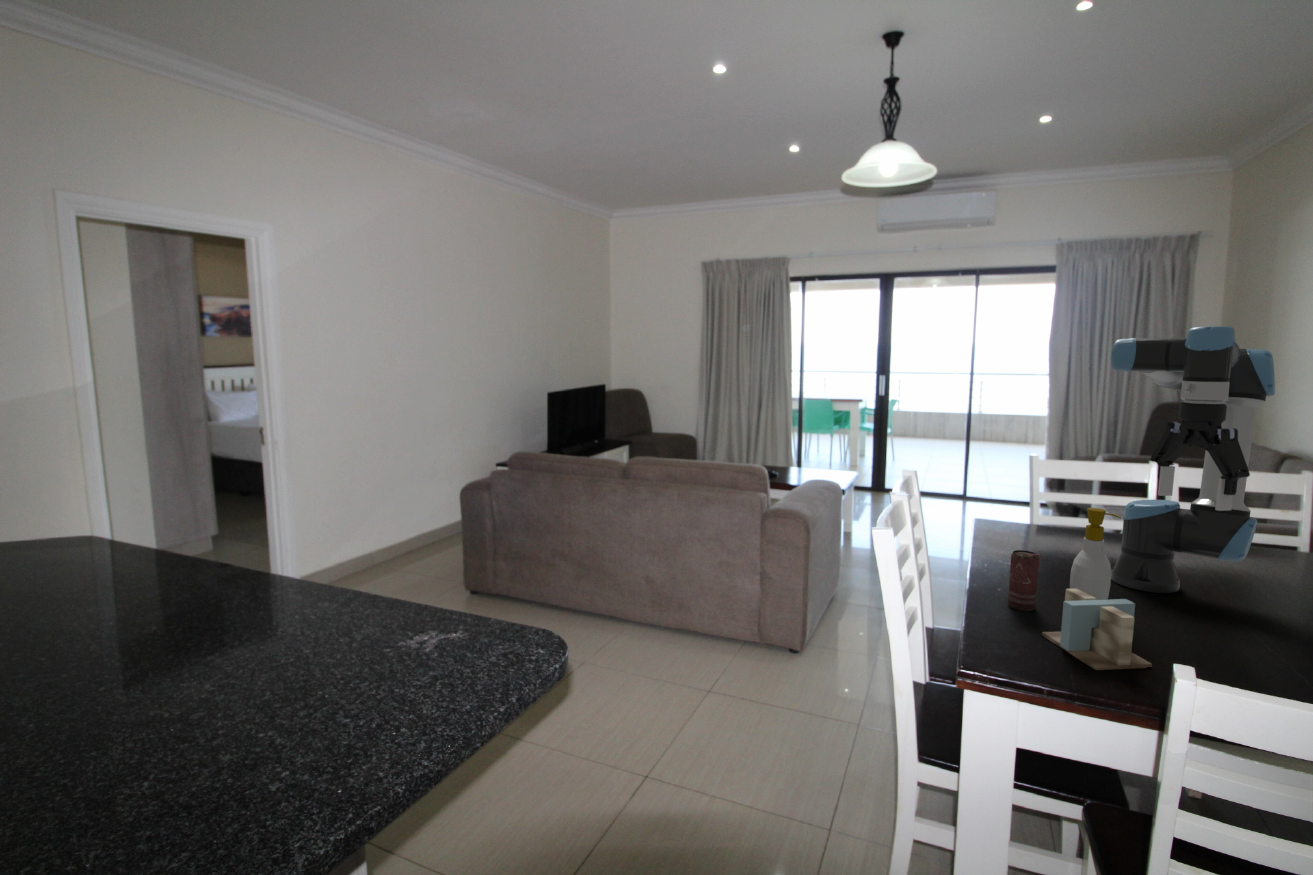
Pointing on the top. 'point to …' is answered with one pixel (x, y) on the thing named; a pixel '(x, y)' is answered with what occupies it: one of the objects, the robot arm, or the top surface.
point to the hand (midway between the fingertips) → (1192, 502)
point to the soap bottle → (1092, 559)
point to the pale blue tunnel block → (1086, 620)
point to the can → (1023, 580)
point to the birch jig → (1105, 638)
